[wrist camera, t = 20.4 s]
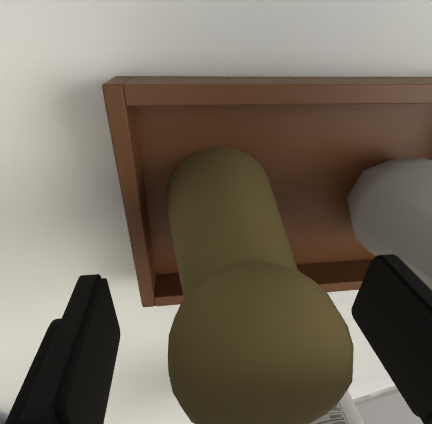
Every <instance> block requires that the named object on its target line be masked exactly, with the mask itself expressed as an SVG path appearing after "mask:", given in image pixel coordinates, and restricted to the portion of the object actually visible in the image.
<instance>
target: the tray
mask: <svg viewBox="0 0 432 424" xmlns="http://www.w3.org/2000/svg"><path fill="white" fill-rule="evenodd" d="M102 89H103V95H104V100H105V106H106V111H107V117H108V122H109V128H110V133H111V138H112V144H113V149H114V155H115V160H116V166H117V171H118V176H119V182H120V187H121V193H122V198H123V204H124V209H125V215H126V220H127V225H128V231H129V236H130V242H131V247H132V253H133V258H134V263H135V269H136V274H137V280H138V285H139V291H140V296H141V302H142V306H143V307H152V306H155V305H156V306H166V305H178V304H181V303H182V301H183V300H184V297H183V292H182V286H181V281H180V276H179V271H178V266H177V260H176V255H175V250H174V245H173V239H172V234H171V229H170V224H169V218H168V213H167V208H166V187H167V185H168V182H169V179H170V176H171V174H172V173H173V172H174V170H175V169H176V168H177V167H178V165H179V164H180V163H181V162H182V161H183V160H185V159H187V158H188V157H190V156H191V155H193V154H194V153H196V152H199V151H202V150H206V149H209V148H213V147H224V148H234V149H237V150H239V151H242V152H245V153H248V154H249V155H250V156H251V157H253V158H254V159H255V160H256V161H257V162H259V163H260V164H261V166H262V168H263V169H264V171H265V173H266V175H267V176H268V179H269V182H270V185H271V188H272V191H273V194H274V198H275V201H276V204H277V207H278V210H279V213H280V216H281V219H282V222H283V225H284V228H285V231H286V234H287V238H288V241H289V244H290V247H291V250H292V253H293V256H294V259H295V262H296V265H297V268H298V271H300V272H301V273H303V274H304V275H306V276H307V277H309V278H310V279H312V280H314V281H315V282H316V283H317V284H318V285H319V286H320V287H321V288H322V289H323V290H324V291H325V292H335V291H347V290H359V289H360V287H361V284H362V282H363V279H364V277H365V274H366V272H367V269H368V267H369V264H370V262H371V261H372V260H373V259H374V258H375V257H376V256H374V255H373V254H372V253H370V252H369V251H368V250H367V249H366V248H365V247H364V246H363V245H362V244H361V243H360V242H359V241H358V240H357V238H356V237H355V235H354V232H353V226H352V221H351V216H350V211H349V205H348V200H347V197H348V195H349V193H350V192H351V190H352V188H353V187H354V185H355V183H356V182H357V180H358V178H359V177H360V175H361V173H362V171H364V170H366V169H369V168H371V167H374V166H376V165H379V164H381V163H384V162H386V161H389V160H391V159H394V158H426V159H430V160H432V77H182V76H116V77H114V78H113V79H111V80H109V81H108V82H106V83H104V84H103V85H102Z"/></svg>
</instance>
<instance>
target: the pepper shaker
mask: <svg viewBox="0 0 432 424" xmlns="http://www.w3.org/2000/svg"><path fill="white" fill-rule="evenodd" d="M166 208H167V213H168V218H169V224H170V229H171V234H172V239H173V245H174V250H175V255H176V260H177V266H178V271H179V276H180V281H181V286H182V292H183V297H184V300H183V301H182V303H181V305H180V307H179V309H178V312H177V314H176V316H175V318H174V321H173V324H172V327H171V330H170V334H169V344H168V371H169V377H170V381H171V386H172V391H173V393H174V395H175V397H176V398H177V400H178V402H179V404H180V405H181V407H182V409H183V410H184V412H185V413H186V415H187V416H188V417H189V419H190V420H191V422H193V423H195V424H310V423H312V422H314V421H315V420H317V419H319V418H321V417H322V416H324V415H326V414H327V413H328V412H329V411H330V410H331V409H332V408H333V407H335V406H336V405H337V404H338V403H339V401H340V400H341V399H342V397H343V396H344V394H345V393H346V391H347V389H348V388H349V386H350V384H351V383H352V373H353V343H352V340H351V336H350V333H349V329H348V326H347V324H346V323H345V321H344V320H343V318H342V316H341V315H340V313H339V311H338V310H337V308H336V306H335V305H334V303H333V302H332V300H331V298H330V297H329V295H328V294H327V293H326V292H325V291H324V290H323V289H322V288H321V287H320V286H319V285H318V284H317V283H316V282H315V281H314V280H312V279H310V278H309V277H307V276H306V275H304V274H303V273H301V272H300V271H298V268H297V265H296V262H295V259H294V256H293V253H292V250H291V247H290V244H289V241H288V238H287V234H286V231H285V228H284V225H283V222H282V219H281V216H280V213H279V210H278V207H277V204H276V201H275V198H274V194H273V191H272V188H271V185H270V182H269V179H268V176H267V175H266V173H265V171H264V169H263V168H262V166H261V164H260V163H259V162H257V161H256V160H255V159H254V158H253V157H251V156H250V155H249V154H248V153H245V152H242V151H239V150H237V149H234V148H224V147H213V148H209V149H206V150H202V151H199V152H196V153H194V154H193V155H191V156H190V157H188V158H187V159H185V160H183V161H182V162H181V163H180V164H179V165H178V167H177V168H176V169H175V170H174V172H173V173H172V174H171V176H170V179H169V182H168V185H167V187H166Z"/></svg>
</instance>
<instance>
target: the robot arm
mask: <svg viewBox="0 0 432 424" xmlns="http://www.w3.org/2000/svg"><path fill="white" fill-rule="evenodd" d="M352 316H353V318H354V320H355V321H356V323H357V325H358V326H359V328H360V329H361V331H362V332H363V334H364V336H365V337H366V339H367V340H368V342H369V344H370V345H371V347H372V348H373V350H374V352H375V353H376V355H377V356H378V358H379V360H380V361H381V363H382V364H383V366H384V368H385V369H386V371H387V372H388V374H389V375H390V377H391V379H392V380H393V382H394V383H395V385H396V387H397V388H398V390H399V391H400V393H401V395H402V396H403V398H404V399H405V401H406V402H407V404H408V406H409V407H410V409H411V410H412V412H413V413H414V414H415V415H416V416H418V417H420V418H421V420H422V422H423V423H424V424H432V290H431V289H430V288H429V287H428V286H427V285H426V284H425V283H424V282H423V281H422V280H421V279H420V278H419V277H418V276H417V275H416V274H415V273H414V272H413V271H412V270H411V269H410V268H409V267H408V266H407V265H406V264H405V263H404V262H403V261H402V260H401V259H400V258H399V257H398V256H396V255H394V254H389V255H377V256H376V257H375V258H374V259H373V260H372V261H371V262H370V264H369V267H368V269H367V272H366V274H365V277H364V279H363V282H362V284H361V287H360V289H359V292H358V294H357V296H356V299H355V301H354V304H353V306H352ZM119 341H120V328H119V324H118V320H117V316H116V312H115V309H114V305H113V301H112V297H111V293H110V290H109V286H108V282H107V279H106V278H103V279H102V278H101V276H100V275H99V274H97V275H82V276H80V277H79V279H78V281H77V283H76V286H75V288H74V291H73V293H72V295H71V298H70V300H69V303H68V305H67V307H66V310H65V312H64V315H63V317H62V319H55V320H53V321H52V322H51V324H50V326H49V327H48V329H47V332H46V334H45V336H44V338H43V340H42V343H41V345H40V347H39V349H38V352H37V354H36V356H35V358H34V360H33V363H32V365H31V367H30V369H29V372H28V374H27V376H26V378H25V380H24V383H23V385H22V387H21V389H20V391H19V394H18V396H17V398H16V400H15V403H14V405H13V407H12V409H11V411H10V414H9V416H8V418H7V420H6V422H5V424H103V423H104V418H105V413H106V408H107V402H108V397H109V392H110V387H111V382H112V377H113V372H114V367H115V362H116V356H117V351H118V346H119Z"/></svg>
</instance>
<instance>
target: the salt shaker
mask: <svg viewBox="0 0 432 424" xmlns="http://www.w3.org/2000/svg"><path fill="white" fill-rule="evenodd" d="M347 200H348V205H349V211H350V216H351V221H352V226H353V232H354V235H355V237H356V238H357V240H358V241H359V242H360V243H361V244H362V245H363V246H364V247H365V248H366V249H367V250H368V251H369V252H370V253H372V254H373V255H374V256H377V255H389V254H394V255H396V256H398V257H399V258H400V259H401V260H402V261H403V262H404V263H405V264H406V265H407V266H408V267H409V268H410V269H411V270H412V271H413V272H414V273H415V274H416V275H417V276H418V277H419V278H420V279H421V280H422V281H423V282H424V283H425V284H426V285H427V286H428V287H429V288H430V289H431V290H432V160H430V159H426V158H394V159H391V160H389V161H386V162H384V163H381V164H379V165H376V166H374V167H371V168H369V169H366V170H364V171H362V173H361V175H360V177H359V178H358V180H357V182H356V183H355V185H354V187H353V188H352V190H351V192H350V193H349V195H348V197H347Z"/></svg>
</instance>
